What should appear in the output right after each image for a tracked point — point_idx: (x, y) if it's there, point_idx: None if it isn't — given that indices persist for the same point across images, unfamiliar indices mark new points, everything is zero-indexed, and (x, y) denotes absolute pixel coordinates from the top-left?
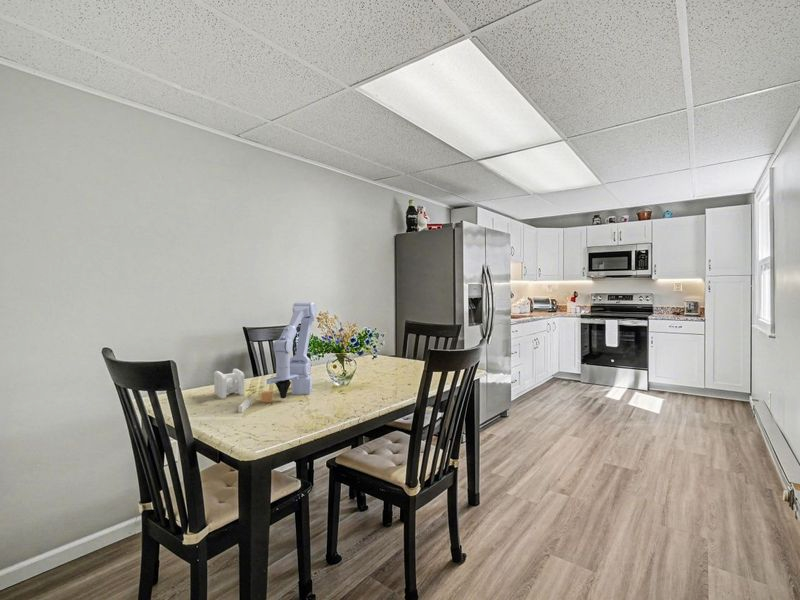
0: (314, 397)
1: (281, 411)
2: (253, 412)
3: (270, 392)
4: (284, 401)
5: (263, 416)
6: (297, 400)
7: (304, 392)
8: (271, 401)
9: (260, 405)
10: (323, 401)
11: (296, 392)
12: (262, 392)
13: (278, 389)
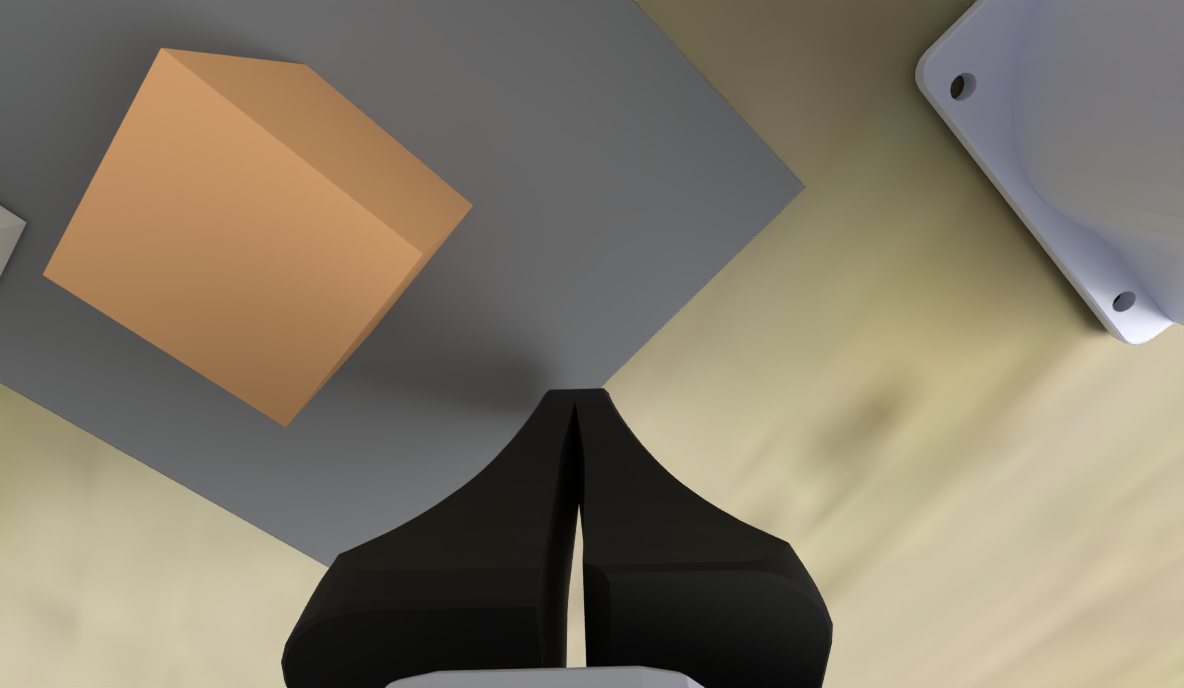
0: (1129, 410)
1: None
2: (56, 494)
3: (295, 369)
4: None
5: (159, 670)
6: (836, 383)
7: (1177, 275)
8: (393, 303)
9: None
10: (1008, 625)
11: (1075, 179)
12: (80, 223)
13: (481, 479)
